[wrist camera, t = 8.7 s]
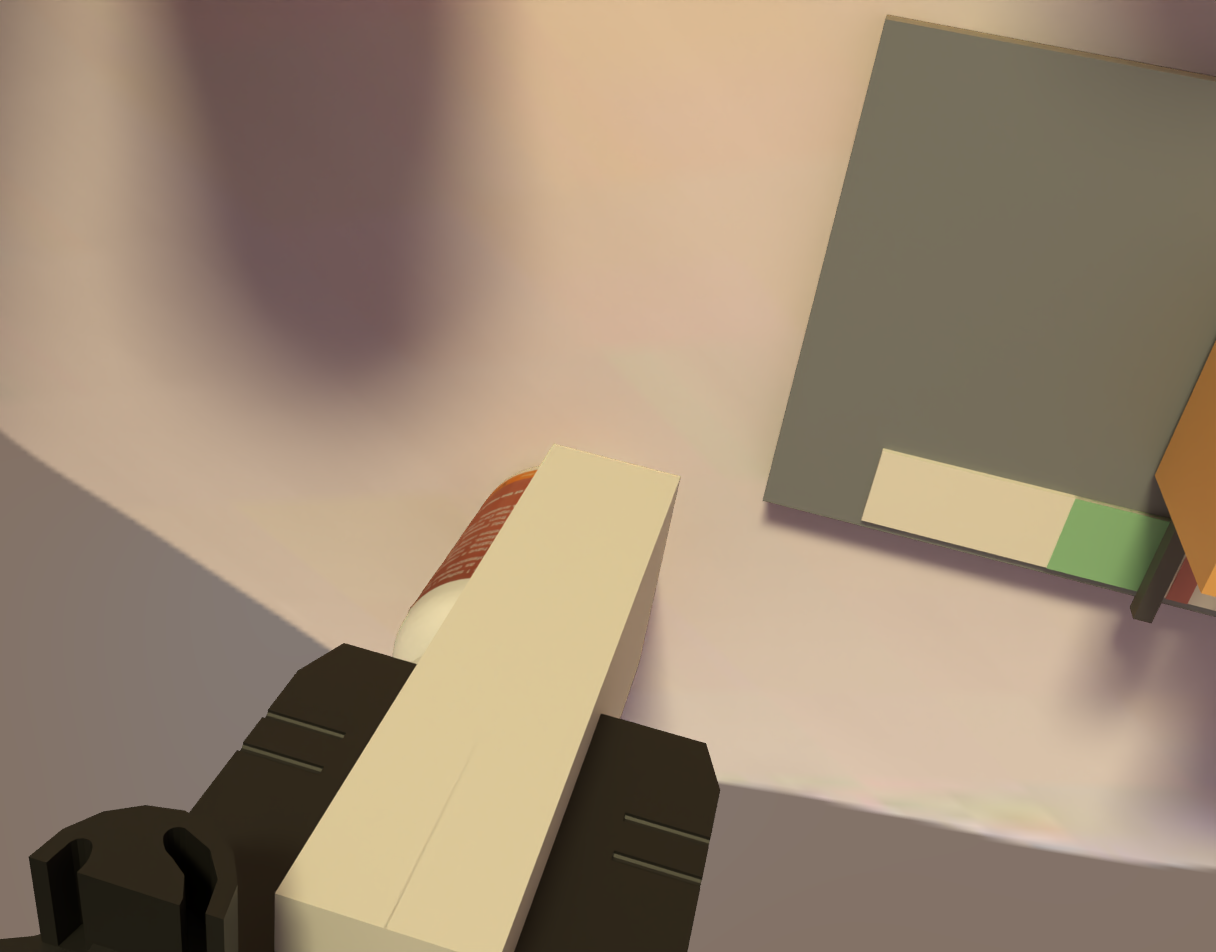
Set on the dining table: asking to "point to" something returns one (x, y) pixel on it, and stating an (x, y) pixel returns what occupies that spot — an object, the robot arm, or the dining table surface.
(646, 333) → the dining table surface
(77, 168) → the dining table surface
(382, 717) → the robot arm
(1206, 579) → the plunger
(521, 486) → the pill bottle
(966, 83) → the board
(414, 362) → the dining table surface
